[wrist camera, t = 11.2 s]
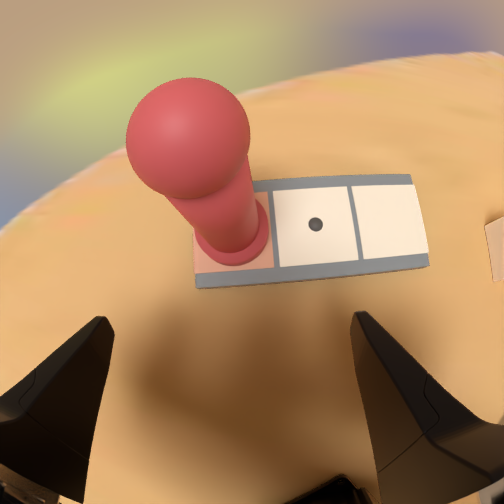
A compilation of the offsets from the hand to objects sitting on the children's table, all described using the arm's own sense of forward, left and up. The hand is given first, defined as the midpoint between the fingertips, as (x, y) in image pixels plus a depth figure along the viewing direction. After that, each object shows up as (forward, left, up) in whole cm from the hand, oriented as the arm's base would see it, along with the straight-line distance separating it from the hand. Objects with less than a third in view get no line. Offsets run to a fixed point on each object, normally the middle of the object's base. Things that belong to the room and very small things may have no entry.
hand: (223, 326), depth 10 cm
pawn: (+3, +5, -7) cm, 9 cm away
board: (+7, +2, -8) cm, 11 cm away
